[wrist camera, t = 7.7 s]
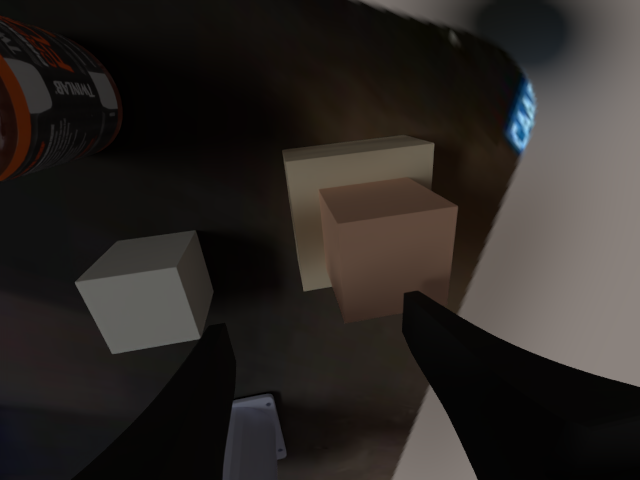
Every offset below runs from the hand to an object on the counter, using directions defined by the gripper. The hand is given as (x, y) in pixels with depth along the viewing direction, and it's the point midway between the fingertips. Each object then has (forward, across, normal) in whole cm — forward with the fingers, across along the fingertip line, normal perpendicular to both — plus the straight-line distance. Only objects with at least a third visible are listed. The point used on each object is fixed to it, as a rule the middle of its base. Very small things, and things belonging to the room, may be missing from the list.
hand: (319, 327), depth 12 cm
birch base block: (+10, -4, -2) cm, 11 cm away
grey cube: (+10, +9, +2) cm, 14 cm away
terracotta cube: (+6, -4, -1) cm, 7 cm away
